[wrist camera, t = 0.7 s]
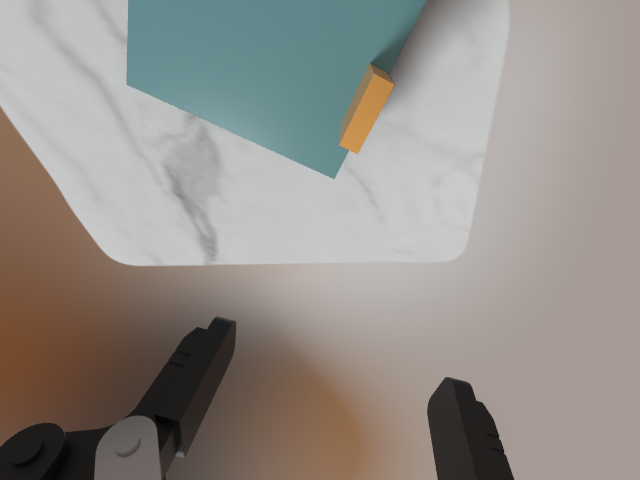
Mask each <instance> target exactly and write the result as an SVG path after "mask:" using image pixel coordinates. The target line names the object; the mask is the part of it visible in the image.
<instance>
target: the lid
mask: <svg viewBox="0 0 640 480" xmlns="http://www.w3.org/2000/svg"><path fill="white" fill-rule="evenodd" d="M426 1H427V0H128V44H127V85H129V86H131V87H133V88H136V89H138V90H140V91H142V92H144V93H147V94H149V95H151V96H153V97H155V98H158V99H160V100H162V101H164V102H166V103H169V104H171V105H173V106H175V107H177V108H179V109H182V110H184V111H186V112H188V113H190V114H193V115H195V116H197V117H199V118H201V119H204V120H206V121H208V122H210V123H212V124H215V125H217V126H219V127H221V128H223V129H226V130H228V131H230V132H232V133H234V134H236V135H239V136H241V137H243V138H245V139H247V140H250V141H252V142H254V143H256V144H258V145H261V146H263V147H265V148H267V149H269V150H272V151H274V152H276V153H278V154H280V155H282V156H285V157H287V158H289V159H291V160H293V161H296V162H298V163H300V164H302V165H304V166H307V167H309V168H311V169H313V170H315V171H318V172H320V173H322V174H324V175H326V176H329V177H331V178H333V179H335V177H336V175H337V173H338V171H339V169H340V167H341V165H342V163H343V161H344V159H345V157H346V155H347V154H348V152H349V150H350V151H352V152H354V153H356V154H358V152H359V150H360V149H361V147H362V145H363V143H364V141H365V139H366V138H367V136H368V134H369V132H370V130H371V128H372V126H373V125H374V123H375V121H376V119H377V117H378V115H379V113H380V112H381V110H382V108H383V106H384V104H385V102H386V100H387V99H388V97H389V95H390V93H391V91H392V89H393V88H394V86H395V84H394V83H393V81H392V80H391V79H390V77H389V76H388V74H389V72H390V70H391V68H392V66H393V65H394V63H395V61H396V59H397V57H398V55H399V53H400V51H401V49H402V47H403V45H404V43H405V41H406V39H407V37H408V36H409V34H410V32H411V30H412V28H413V26H414V24H415V22H416V20H417V18H418V16H419V14H420V12H421V10H422V8H423V7H424V5H425V3H426Z"/></svg>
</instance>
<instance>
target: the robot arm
mask: <svg viewBox="0 0 640 480" xmlns="http://www.w3.org/2000/svg"><path fill="white" fill-rule="evenodd" d="M235 337H236V321H233V320H229V319H225V318H221V317H215V318H214V319H213V321H212V322H211V324H210V326H209V327H208V329H207V330H206V329H202V328H198V327H197V328H196V329H195V330H193V331H192V332H190V333H189V334H188V335H187V336H185V337H184V338H183V340H182V341H181V343H180V344H179V346H178V347H177V348H176V350H175V352H174V353H173V354H172V356H171V357H170V359H169V360H168V363H167V364H166V365H165V366H164V368H163V369H162V370H161V372H160V373H159V375H158V376H157V378H156V379H155V380H154V382H153V383H152V385H151V386H150V388H149V389H148V391H147V392H146V394H145V395H144V397H143V398H142V399H141V401H140V402H139V404H138V405H137V407H136V408H135V409H134V410H133V411H132V412H131V413H130V414H129V415H128V416H127V417H125V418H124V419H122V420H121V421H119V422H117V423H116V424H113V425H111V426H109V427H105V428H101V429H94V430H84V431H74V432H63V430H62V429H61V428H60V427H59V426H58V425H56V424H53V423H41V424H36V425H33V426H30V427H28V428H26V429H24V430H22V431H20V432H18V433H17V434H15V435H14V436H12V437H11V438H10V439H9V440H7V441H6V442H5V443H4V444H3V445H2V446H1V447H0V480H167V478H166V473H167V471H168V469H169V467H170V465H171V463H172V461H173V459H174V457H175V456H178V457H182V458H185V456H186V454H187V452H188V450H189V448H190V446H191V444H192V441H193V439H194V437H195V435H196V433H197V431H198V429H199V427H200V425H201V423H202V420H203V418H204V416H205V414H206V412H207V410H208V408H209V406H210V404H211V402H212V399H213V397H214V395H215V393H216V391H217V389H218V386H219V385H220V383H221V381H222V378H223V376H224V374H225V372H226V370H227V368H228V366H229V363H230V361H231V359H232V356H233V353H234V349H235ZM427 410H428V411H427V413H428V421H429V427H430V434H431V439H432V446H433V452H434V458H435V465H436V471H437V477H438V480H514V478H513V475H512V472H511V469H510V466H509V463H508V460H507V457H506V455H505V454H504V449H503V446H502V443H501V440H499V434H498V431H497V428H496V425H495V422H494V419H493V418H492V416H491V415H490V413H489V412H488V410H487V409H486V407H485V406H484V404H483V403H482V402H479V401H476V398H475V395H474V392H473V389H472V387H471V385H470V384H469V383H467V382H465V381H461V380H457V379H453V378H449V377H446V378H445V379H444V380H443V381H442V383H441V384H440V385H439V387H438V388H437V390H436V391H435V392H434V393H433V395H432V396H431V398H430V400H429V403H428V409H427Z"/></svg>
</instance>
